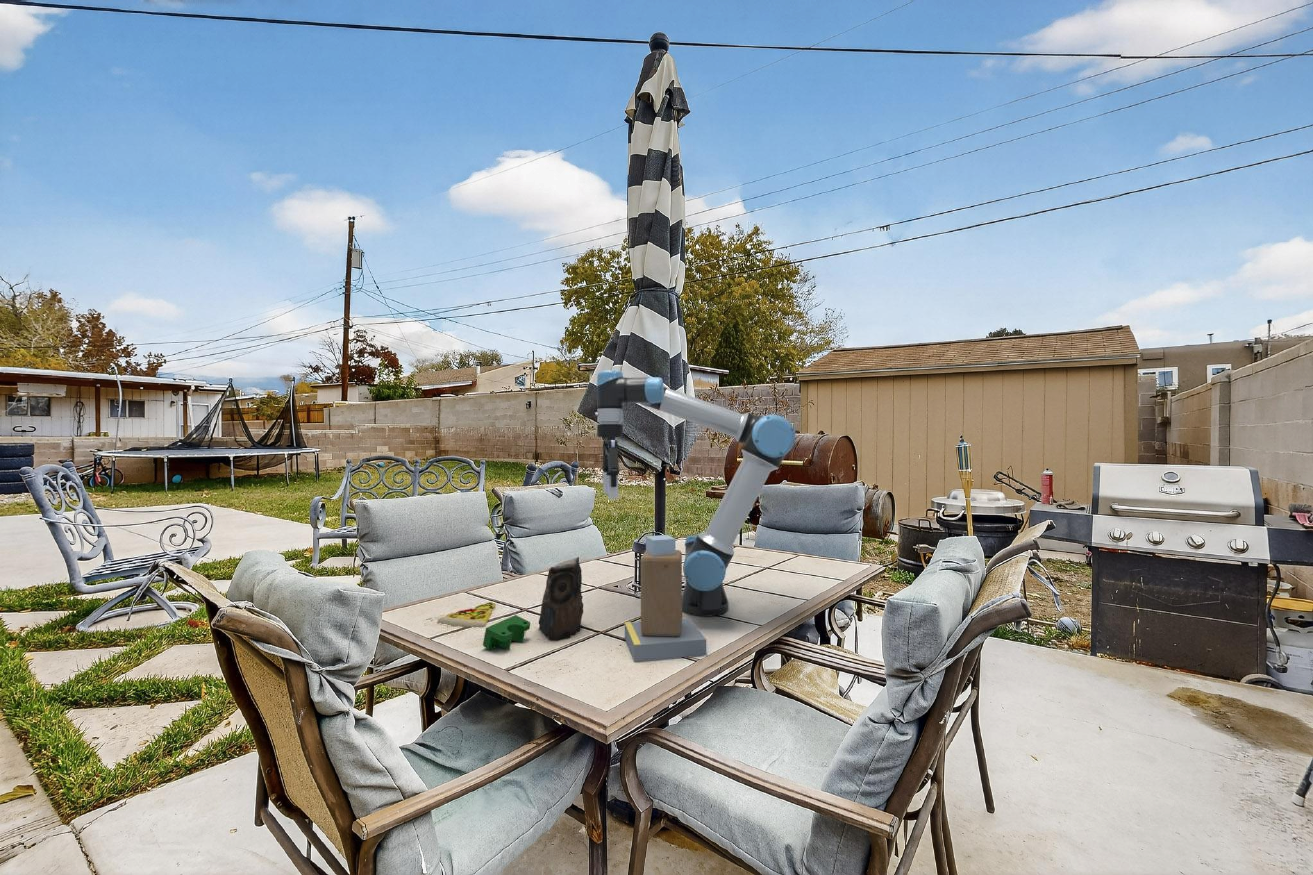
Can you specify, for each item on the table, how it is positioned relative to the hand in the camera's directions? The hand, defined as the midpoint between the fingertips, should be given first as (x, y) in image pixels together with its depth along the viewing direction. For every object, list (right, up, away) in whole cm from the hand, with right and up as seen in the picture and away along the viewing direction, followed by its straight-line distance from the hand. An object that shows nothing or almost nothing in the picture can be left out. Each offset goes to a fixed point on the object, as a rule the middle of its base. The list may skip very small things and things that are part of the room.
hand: (610, 496), depth 159 cm
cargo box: (+15, -13, -19) cm, 27 cm away
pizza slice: (-41, -38, +6) cm, 56 cm away
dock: (+15, -37, -19) cm, 44 cm away
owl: (-14, -37, -8) cm, 40 cm away
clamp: (-25, -37, -18) cm, 48 cm away
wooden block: (+15, -33, -19) cm, 41 cm away
